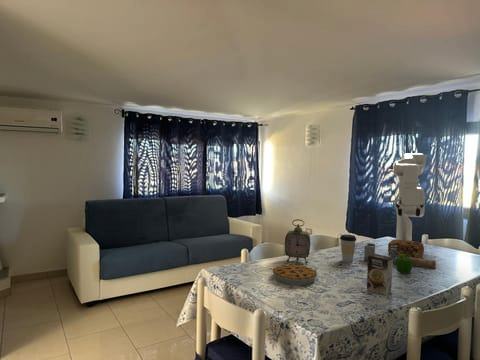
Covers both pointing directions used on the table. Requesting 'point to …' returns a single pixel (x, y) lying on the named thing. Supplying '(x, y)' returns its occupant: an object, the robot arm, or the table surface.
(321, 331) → the table surface
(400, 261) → the bell pepper
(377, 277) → the coffee box
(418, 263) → the brown cylinder
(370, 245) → the box
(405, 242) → the bread
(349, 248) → the coffee cup
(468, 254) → the table surface
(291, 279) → the pie
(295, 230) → the tabletop clock
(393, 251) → the saddle bracket
